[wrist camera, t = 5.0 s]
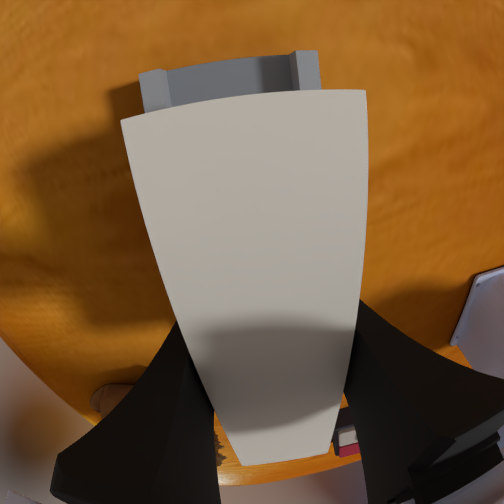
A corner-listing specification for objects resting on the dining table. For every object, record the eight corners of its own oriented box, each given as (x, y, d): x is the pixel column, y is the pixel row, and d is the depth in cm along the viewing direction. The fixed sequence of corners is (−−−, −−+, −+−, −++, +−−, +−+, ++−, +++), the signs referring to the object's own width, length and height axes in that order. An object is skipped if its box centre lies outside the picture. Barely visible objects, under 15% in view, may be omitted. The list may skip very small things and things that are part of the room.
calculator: (334, 435, 27) (452, 394, 26) (328, 405, 31) (439, 369, 30) (336, 461, 33) (432, 429, 31) (331, 436, 37) (423, 407, 35)
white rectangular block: (309, 381, 15) (327, 452, 11) (236, 392, 15) (242, 465, 11) (301, 90, 8) (365, 90, 4) (170, 107, 8) (120, 119, 4)
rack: (315, 320, 22) (323, 343, 20) (210, 335, 22) (210, 360, 20) (303, 56, 13) (316, 50, 11) (151, 76, 13) (138, 74, 11)
